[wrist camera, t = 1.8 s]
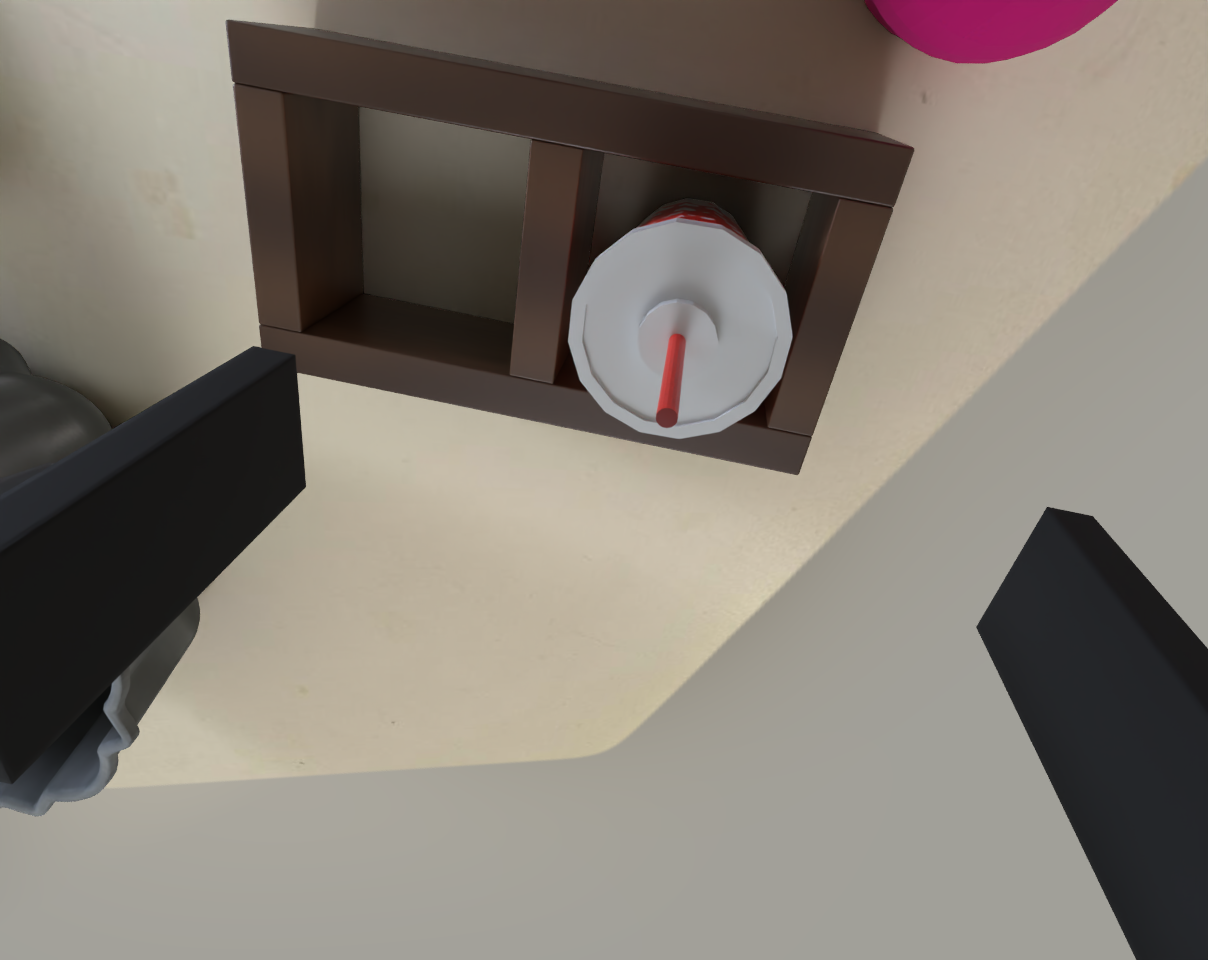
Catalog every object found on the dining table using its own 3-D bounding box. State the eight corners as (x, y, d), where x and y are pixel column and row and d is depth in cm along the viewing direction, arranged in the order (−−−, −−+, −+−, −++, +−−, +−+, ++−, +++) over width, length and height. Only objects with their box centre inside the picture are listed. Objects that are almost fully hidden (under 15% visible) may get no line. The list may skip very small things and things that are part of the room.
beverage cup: (604, 180, 26) (506, 277, 14) (774, 170, 25) (830, 265, 13) (614, 340, 29) (542, 533, 17) (765, 336, 28) (804, 539, 16)
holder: (313, 27, 24) (224, 19, 20) (878, 133, 24) (915, 148, 19) (329, 322, 30) (262, 366, 26) (786, 414, 29) (798, 476, 25)
